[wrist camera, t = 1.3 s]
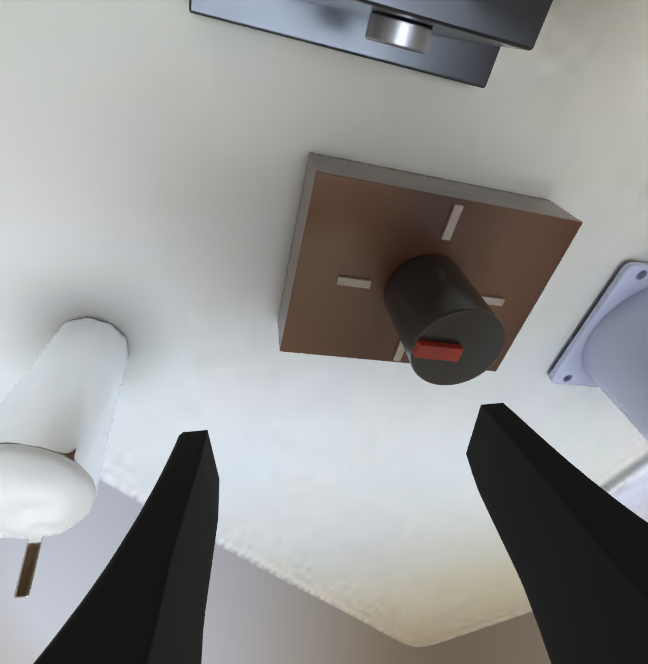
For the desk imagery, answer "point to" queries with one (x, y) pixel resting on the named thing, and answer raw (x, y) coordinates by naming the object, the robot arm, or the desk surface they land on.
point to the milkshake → (58, 435)
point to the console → (407, 253)
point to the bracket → (398, 29)
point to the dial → (443, 321)
